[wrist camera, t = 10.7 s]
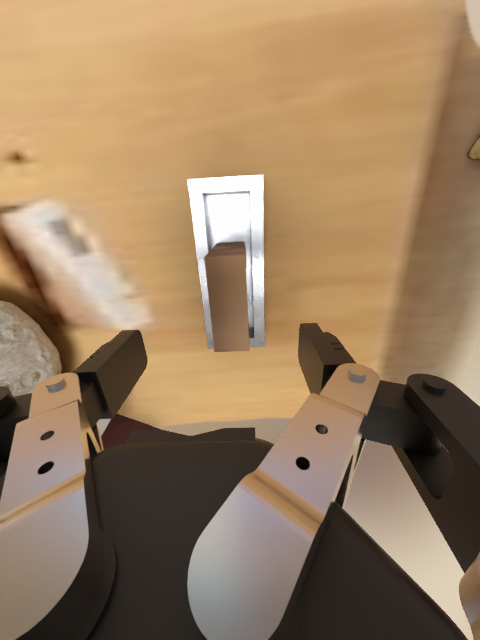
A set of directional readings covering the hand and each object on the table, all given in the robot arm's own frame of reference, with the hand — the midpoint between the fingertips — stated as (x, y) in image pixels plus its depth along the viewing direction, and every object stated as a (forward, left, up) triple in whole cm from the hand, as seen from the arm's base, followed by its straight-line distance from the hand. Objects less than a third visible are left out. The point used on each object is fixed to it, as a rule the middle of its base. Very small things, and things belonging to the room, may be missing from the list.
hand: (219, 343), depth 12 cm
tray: (0, 0, -18) cm, 18 cm away
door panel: (0, +1, -17) cm, 17 cm away
